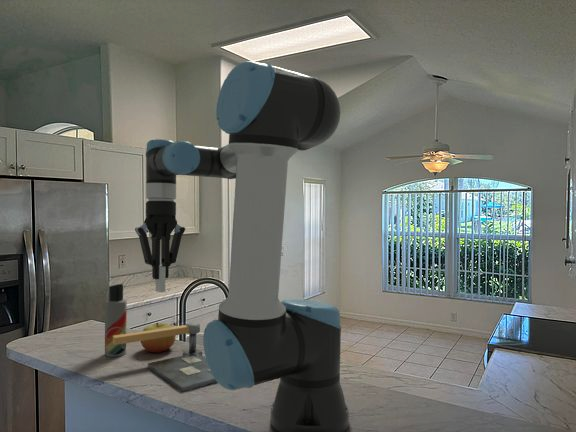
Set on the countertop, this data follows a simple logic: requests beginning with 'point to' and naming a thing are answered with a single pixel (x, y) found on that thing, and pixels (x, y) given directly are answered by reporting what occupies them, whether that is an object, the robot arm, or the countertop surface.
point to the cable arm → (156, 333)
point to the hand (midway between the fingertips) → (160, 291)
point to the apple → (158, 339)
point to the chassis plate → (184, 371)
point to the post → (192, 345)
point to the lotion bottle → (115, 320)
